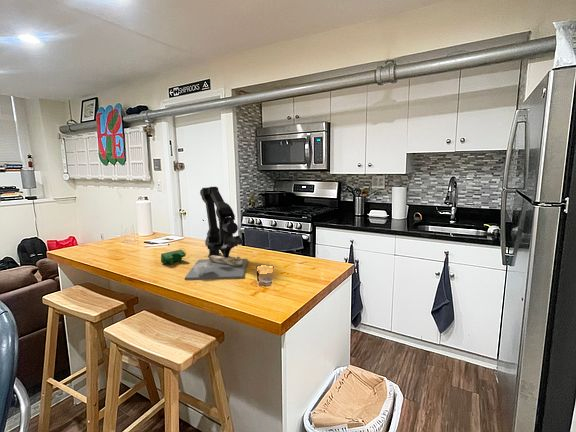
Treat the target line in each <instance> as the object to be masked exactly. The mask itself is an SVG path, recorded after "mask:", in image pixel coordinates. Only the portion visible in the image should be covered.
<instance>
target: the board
mask: <svg viewBox="0 0 576 432" xmlns="http://www.w3.org/2000/svg"><path fill="white" fill-rule="evenodd" d="M241 259H242V261H243V265H242V266H234V265H228V264H223V263H217V262H211V261H209V258H208V259H207V258H206V259H198V260H196V263H195V264H194V265H196V264H198V263H202V262H207V261H208V262H210V263H212V264H214V267H212V268H207V269H203V271H204V276H199V277H198V276H197V275H195V274H194V265H193V266H192V267H191V269H190V270H189V271H188V273H187V274H186V275H185V277H184V280H185V281H187V280H189V281H190V280H196V281H197V280H224V279H226V280H228V279H229V280H230V279H231V280H233V279H244V276H245V271H246V268H247V264H248V258H241Z"/></svg>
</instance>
